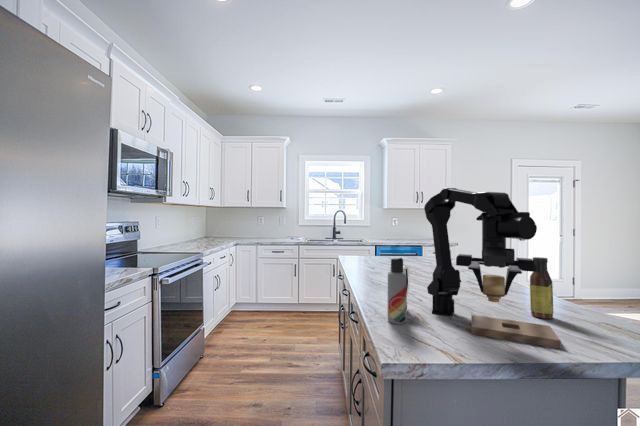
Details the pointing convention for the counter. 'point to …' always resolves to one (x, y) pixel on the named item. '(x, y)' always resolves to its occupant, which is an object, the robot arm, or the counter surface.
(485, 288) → the oak peg
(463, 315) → the counter surface
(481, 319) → the walnut board
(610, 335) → the counter surface
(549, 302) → the sauce bottle
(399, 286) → the lotion bottle
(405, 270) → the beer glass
